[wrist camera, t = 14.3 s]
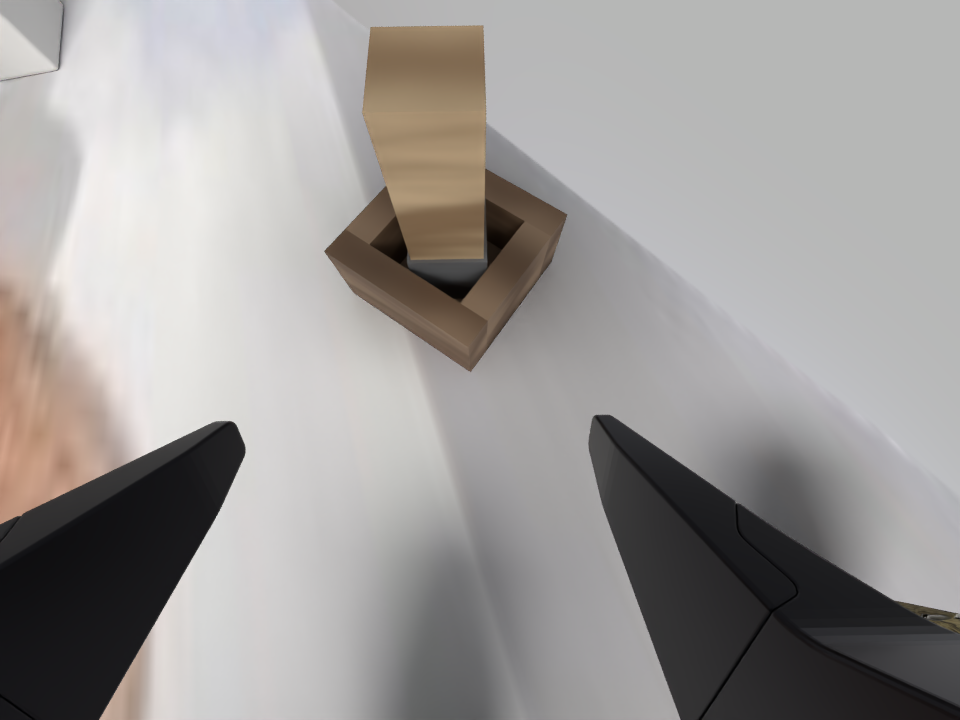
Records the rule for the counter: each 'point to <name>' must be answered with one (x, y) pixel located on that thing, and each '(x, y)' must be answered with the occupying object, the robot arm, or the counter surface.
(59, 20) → the tall white carton
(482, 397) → the counter surface
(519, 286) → the post slot block
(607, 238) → the counter surface
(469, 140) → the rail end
